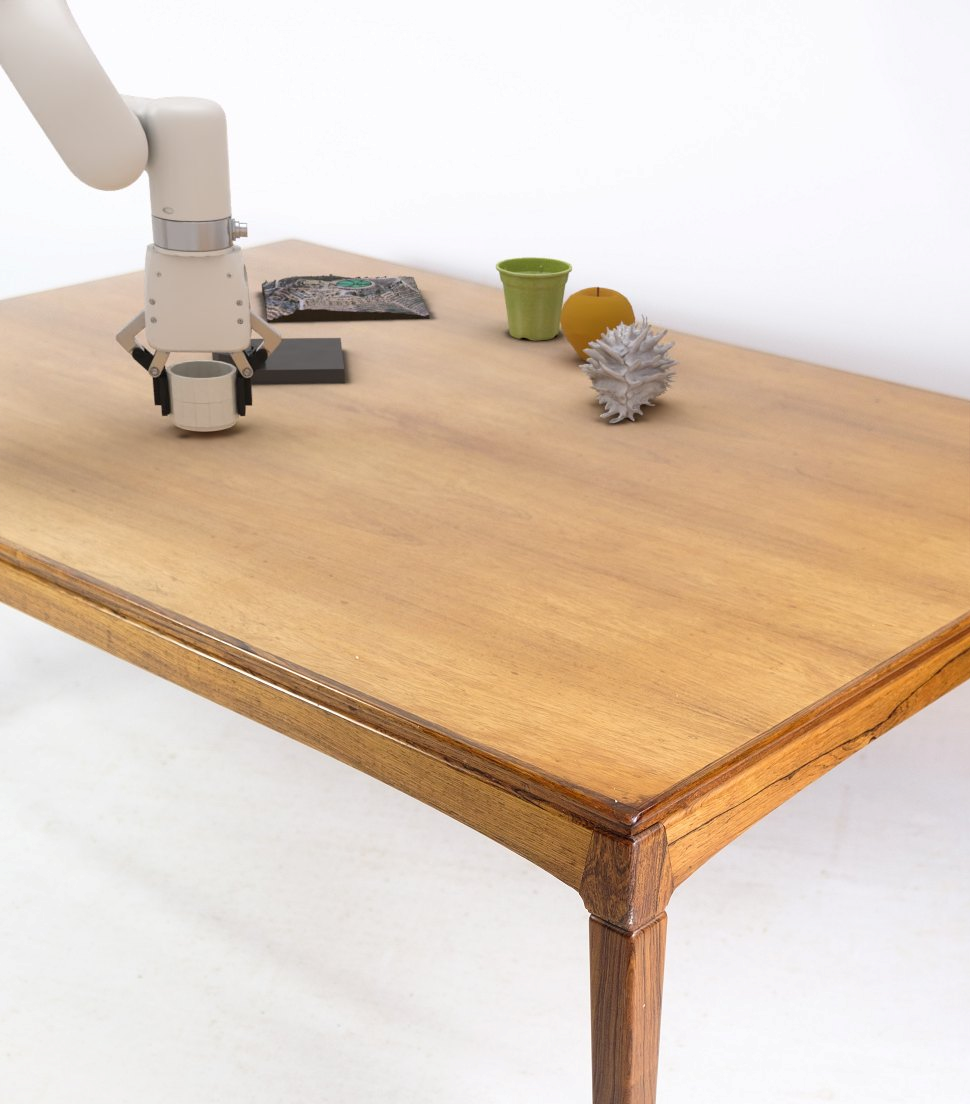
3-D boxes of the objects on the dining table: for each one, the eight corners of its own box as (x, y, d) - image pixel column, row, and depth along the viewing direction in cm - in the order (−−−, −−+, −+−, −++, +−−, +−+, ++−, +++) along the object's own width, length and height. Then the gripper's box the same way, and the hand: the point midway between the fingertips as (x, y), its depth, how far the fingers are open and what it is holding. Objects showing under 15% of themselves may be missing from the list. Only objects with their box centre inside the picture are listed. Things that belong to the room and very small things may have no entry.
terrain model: (268, 323, 204) (266, 297, 203) (262, 295, 217) (260, 270, 216) (429, 319, 209) (428, 294, 207) (414, 291, 222) (413, 267, 220)
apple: (556, 350, 199) (558, 276, 194) (629, 351, 199) (632, 277, 195) (561, 371, 191) (562, 295, 186) (637, 372, 192) (640, 296, 187)
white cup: (168, 432, 163) (164, 378, 160) (172, 411, 169) (168, 359, 166) (238, 432, 164) (235, 379, 162) (239, 412, 170) (237, 360, 168)
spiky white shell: (659, 415, 185) (565, 432, 180) (642, 317, 183) (547, 331, 178) (709, 407, 175) (611, 425, 170) (693, 303, 173) (593, 319, 168)
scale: (213, 386, 180) (211, 355, 179) (217, 353, 192) (215, 323, 190) (345, 384, 183) (343, 353, 181) (341, 351, 194) (339, 322, 193)
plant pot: (514, 348, 199) (514, 276, 195) (484, 329, 206) (484, 259, 202) (583, 341, 203) (585, 271, 199) (551, 323, 210) (552, 254, 206)
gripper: (284, 228, 163) (291, 401, 171) (103, 223, 159) (119, 401, 168) (284, 244, 156) (291, 423, 165) (95, 240, 153) (112, 423, 161)
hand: (204, 410), depth 166 cm, fingers closed on white cup, 6 cm apart
